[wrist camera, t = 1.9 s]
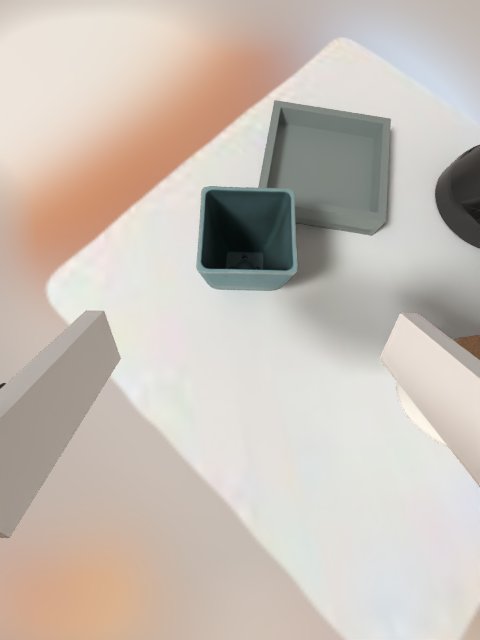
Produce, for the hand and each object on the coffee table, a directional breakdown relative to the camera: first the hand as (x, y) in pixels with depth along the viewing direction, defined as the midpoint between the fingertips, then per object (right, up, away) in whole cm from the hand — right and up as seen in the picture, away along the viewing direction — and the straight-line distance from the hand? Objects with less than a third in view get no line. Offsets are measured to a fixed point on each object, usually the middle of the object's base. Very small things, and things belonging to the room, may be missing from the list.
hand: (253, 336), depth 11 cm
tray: (+11, +21, +22) cm, 32 cm away
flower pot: (0, +7, +19) cm, 20 cm away
